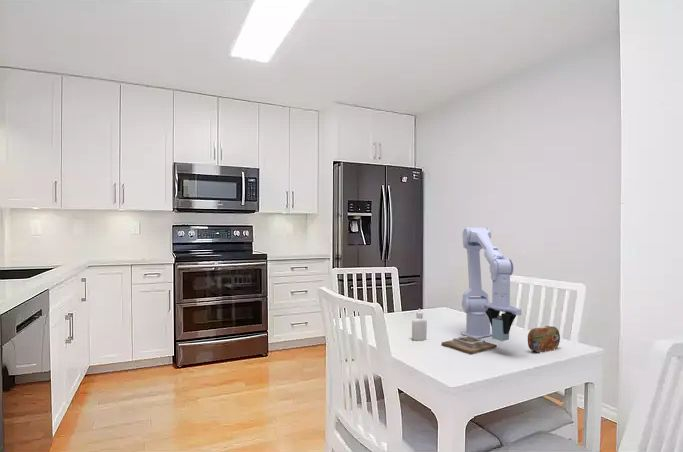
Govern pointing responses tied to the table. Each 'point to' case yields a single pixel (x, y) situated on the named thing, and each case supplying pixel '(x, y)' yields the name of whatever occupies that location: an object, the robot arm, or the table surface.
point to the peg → (498, 329)
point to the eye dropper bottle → (419, 327)
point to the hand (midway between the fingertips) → (500, 332)
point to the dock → (469, 345)
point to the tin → (543, 339)
